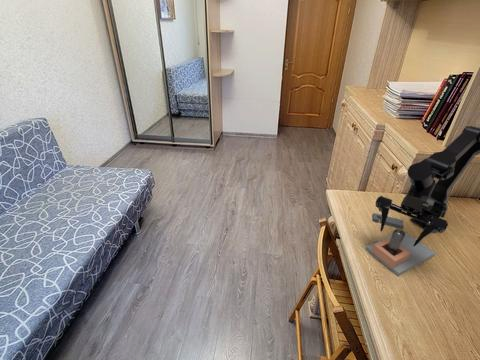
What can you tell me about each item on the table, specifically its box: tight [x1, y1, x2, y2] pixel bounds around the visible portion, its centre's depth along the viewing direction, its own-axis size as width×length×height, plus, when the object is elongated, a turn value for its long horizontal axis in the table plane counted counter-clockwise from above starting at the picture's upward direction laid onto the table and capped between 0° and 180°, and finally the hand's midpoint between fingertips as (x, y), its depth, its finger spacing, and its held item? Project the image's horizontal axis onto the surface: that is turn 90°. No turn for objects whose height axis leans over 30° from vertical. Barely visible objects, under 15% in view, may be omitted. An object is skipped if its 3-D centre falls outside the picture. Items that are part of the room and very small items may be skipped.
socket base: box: [364, 231, 437, 277], centre depth 86 cm, size 19×12×4 cm, turn 117°
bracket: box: [371, 212, 404, 230], centre depth 100 cm, size 4×10×2 cm, turn 67°
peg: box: [386, 228, 406, 256], centre depth 81 cm, size 3×3×10 cm
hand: (396, 238), depth 79 cm, fingers open, 9 cm apart
